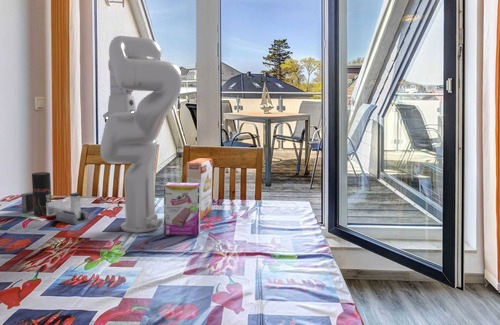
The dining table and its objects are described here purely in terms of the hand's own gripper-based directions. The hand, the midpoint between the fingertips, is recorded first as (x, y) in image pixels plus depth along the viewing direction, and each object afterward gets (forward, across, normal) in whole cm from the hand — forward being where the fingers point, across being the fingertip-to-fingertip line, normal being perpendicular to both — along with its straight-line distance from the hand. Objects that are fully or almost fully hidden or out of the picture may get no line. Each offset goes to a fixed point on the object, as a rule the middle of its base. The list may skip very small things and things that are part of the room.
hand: (121, 137), depth 156 cm
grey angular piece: (+28, +10, +18) cm, 35 cm away
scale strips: (+28, +17, +18) cm, 37 cm away
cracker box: (+28, -29, -9) cm, 41 cm away
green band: (+28, +23, +18) cm, 40 cm away
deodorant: (+28, +22, +18) cm, 40 cm away
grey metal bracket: (+28, +6, +19) cm, 34 cm away
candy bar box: (+28, -36, +12) cm, 47 cm away
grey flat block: (+28, +28, +18) cm, 44 cm away
